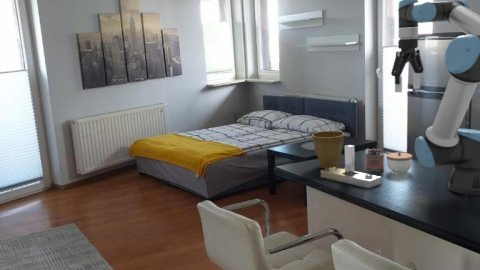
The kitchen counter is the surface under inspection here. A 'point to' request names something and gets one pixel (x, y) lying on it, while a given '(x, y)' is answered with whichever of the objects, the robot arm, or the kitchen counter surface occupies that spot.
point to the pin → (349, 160)
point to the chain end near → (363, 180)
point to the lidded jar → (399, 162)
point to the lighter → (374, 160)
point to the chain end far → (335, 173)
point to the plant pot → (328, 147)
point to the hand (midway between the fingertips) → (407, 90)
